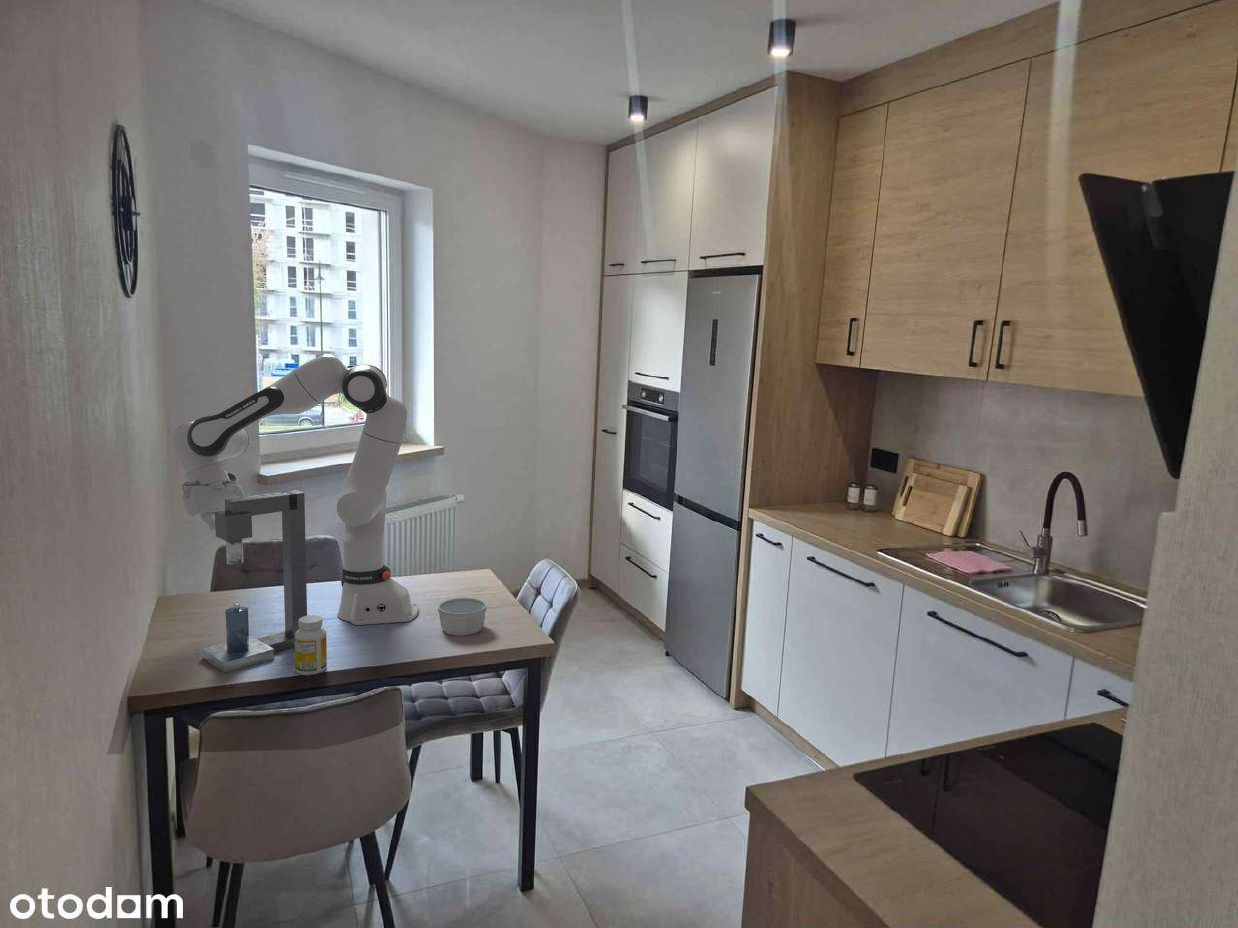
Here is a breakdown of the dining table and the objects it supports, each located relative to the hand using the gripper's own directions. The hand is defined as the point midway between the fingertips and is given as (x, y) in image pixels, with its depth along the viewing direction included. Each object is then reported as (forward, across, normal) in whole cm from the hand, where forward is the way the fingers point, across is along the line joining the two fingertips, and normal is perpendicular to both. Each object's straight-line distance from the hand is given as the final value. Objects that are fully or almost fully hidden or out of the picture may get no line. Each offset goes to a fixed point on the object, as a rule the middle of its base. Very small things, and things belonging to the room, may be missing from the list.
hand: (227, 528), depth 209 cm
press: (+34, -9, -1) cm, 35 cm away
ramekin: (+51, +19, -41) cm, 68 cm away
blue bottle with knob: (+31, -14, 0) cm, 34 cm away
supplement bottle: (+44, -16, -16) cm, 49 cm away
